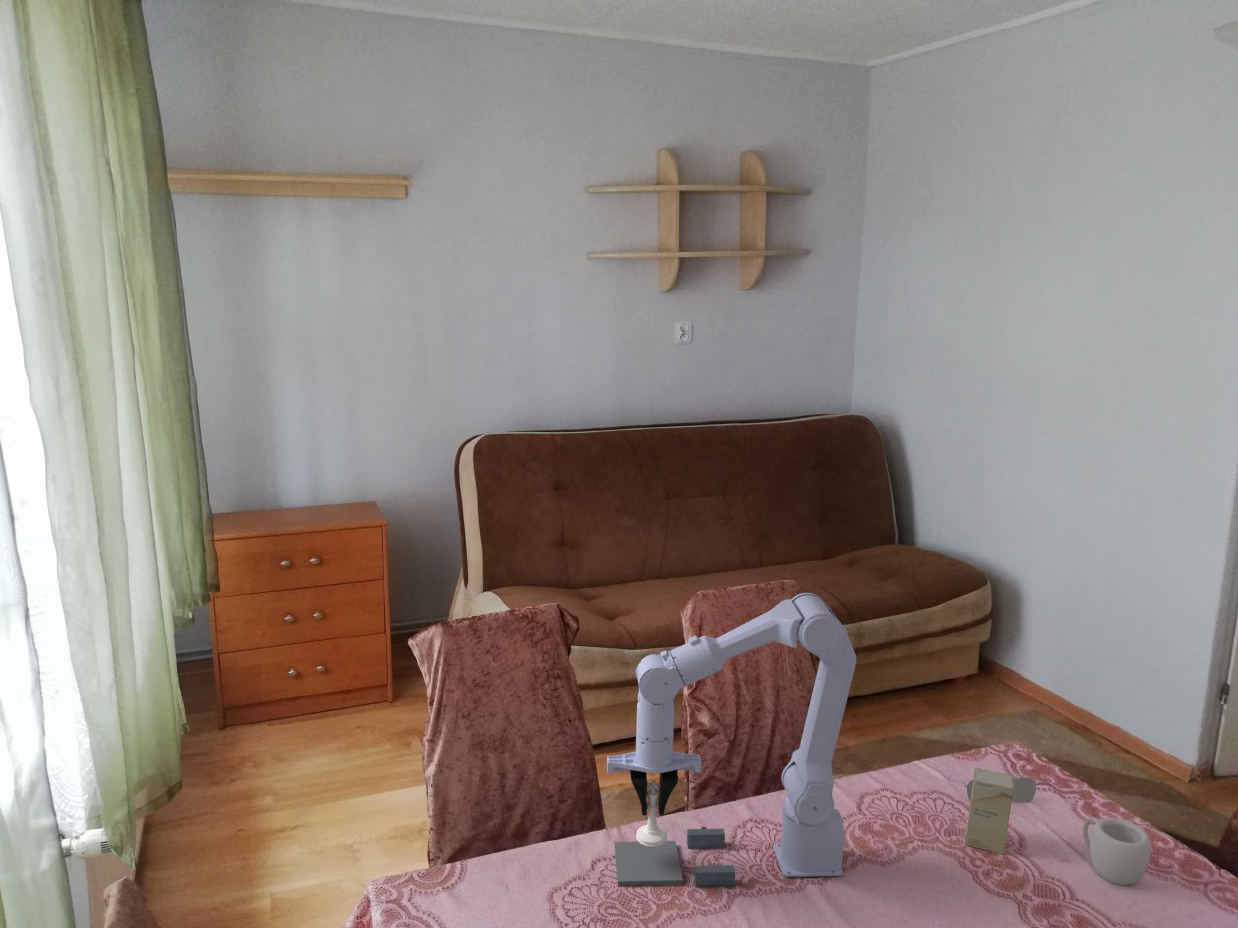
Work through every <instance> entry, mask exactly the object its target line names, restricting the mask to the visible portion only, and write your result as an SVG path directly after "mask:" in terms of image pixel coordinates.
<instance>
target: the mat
mask: <svg viewBox="0 0 1238 928" xmlns="http://www.w3.org/2000/svg"><path fill="white" fill-rule="evenodd" d="M678 852H679V851H678V847H677V842H676V840H667V841H666V842H665V843H664V844H662V845H660V846H657V847H649V846H645V845H642V844H641V843H639V842H638V841H614V854H615V855H614V856H615V866H616V880H617V886H618V887H631V886H632V887H637V886H641V887H643V886H678V885H681V886H683V882H684V879H683V874H682V873H683V872H682V869H681V864H680V859H679V853H678Z"/></svg>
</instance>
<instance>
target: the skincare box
mask: <svg viewBox="0 0 1238 928" xmlns="http://www.w3.org/2000/svg"><path fill="white" fill-rule="evenodd" d="M1014 777H1015V776H1014V775H1011V774H1008V773H1001V772H998V771H997V772H996V771H993V770H989V769H982V768H978V767H974V772H973V786H972V793H971V801H970V800H969V801H970V802H969V803H970V804H969V810H968V816H967V817H968V818H967V825H966V826H967V827H966V832H965V833H966V834H965V845H966V846H969V847H974V848H976V849H981V850H984V851H988V852H993V853H997V854H1001V855H1004V854H1005V853H1006V844H1007V836H1008V830H1009V823H1010V822H1009V821H1010V815H1011V808H1012V803H1013V801H1012V796H1013V789H1014V779H1015V778H1014Z"/></svg>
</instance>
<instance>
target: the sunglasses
mask: <svg viewBox="0 0 1238 928" xmlns="http://www.w3.org/2000/svg"><path fill="white" fill-rule="evenodd" d="M1019 775H1021V776H1022V777H1018V776H1019ZM950 777H951V778H952V779H954V780H955V781H957V783H959V784H960V785H962V786H963V787H966V795H967V799H968V800H969V801H971V793H972V786H973V779H970V780H969V781H968V782H967V784H964V783H963V782H961V781H960V780H958V779H956V777H954V776H953V775H952V774H949V775H948V777H947V780H948V781H949V780H950ZM1038 785H1039V782H1038V781H1035V780H1034V779H1033V778H1031V777H1029V776H1028V777H1027V776H1024V774H1022V773H1017V774H1015V776H1014V789H1013V796H1012V803H1015V804H1016V803H1017V804H1019V803H1020V804H1021V803H1022V804H1023V803H1026V804H1027V803H1032V801H1033V800H1034V798H1035V795H1036V792H1037V791H1036V790H1037V786H1038Z"/></svg>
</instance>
